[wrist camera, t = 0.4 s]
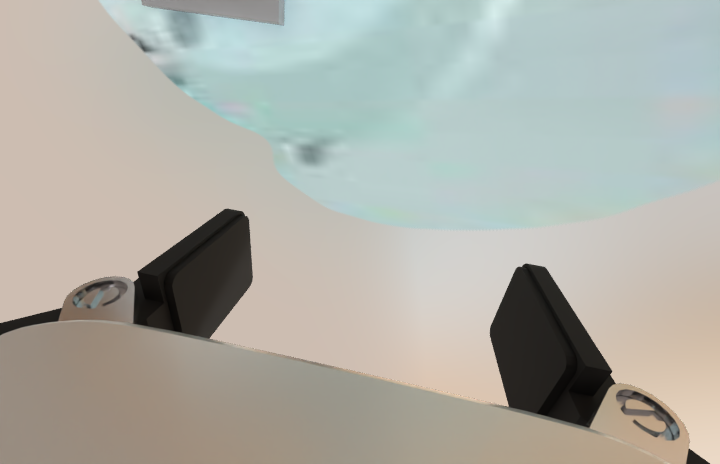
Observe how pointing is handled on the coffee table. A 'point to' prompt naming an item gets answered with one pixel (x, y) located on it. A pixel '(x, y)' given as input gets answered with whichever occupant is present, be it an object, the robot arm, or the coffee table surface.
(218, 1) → the board
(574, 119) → the coffee table surface
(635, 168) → the coffee table surface
